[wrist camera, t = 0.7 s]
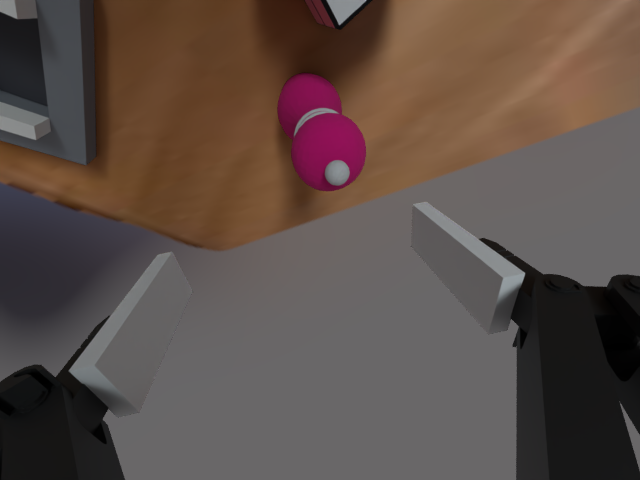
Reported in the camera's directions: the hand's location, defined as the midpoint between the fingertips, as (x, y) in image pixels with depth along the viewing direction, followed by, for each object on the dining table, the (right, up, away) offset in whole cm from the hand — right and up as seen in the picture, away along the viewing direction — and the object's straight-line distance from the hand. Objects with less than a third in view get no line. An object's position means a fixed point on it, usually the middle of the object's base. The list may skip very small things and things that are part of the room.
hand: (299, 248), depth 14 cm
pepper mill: (-1, +18, +18) cm, 26 cm away
